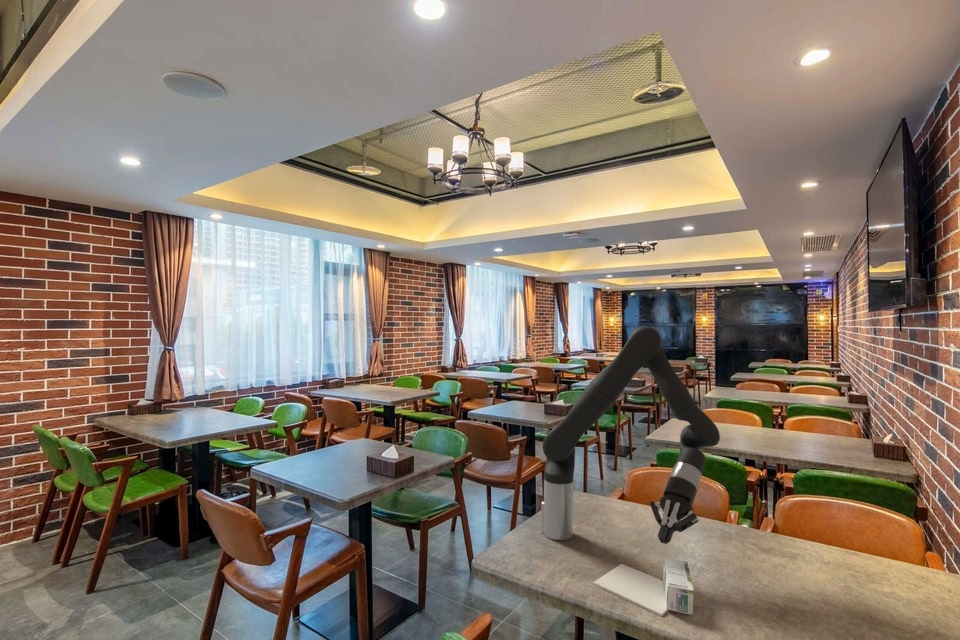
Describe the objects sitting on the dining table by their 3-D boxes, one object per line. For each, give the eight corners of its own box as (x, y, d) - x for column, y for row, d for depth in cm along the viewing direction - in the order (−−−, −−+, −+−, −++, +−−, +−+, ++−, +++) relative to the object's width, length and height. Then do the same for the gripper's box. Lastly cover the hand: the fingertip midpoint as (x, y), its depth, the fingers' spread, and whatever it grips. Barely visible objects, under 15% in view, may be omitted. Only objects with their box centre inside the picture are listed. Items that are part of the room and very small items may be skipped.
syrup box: (686, 583, 118) (694, 616, 104) (661, 578, 120) (666, 610, 106) (687, 560, 118) (695, 590, 104) (662, 556, 120) (667, 585, 106)
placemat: (593, 584, 118) (593, 582, 118) (621, 566, 127) (621, 563, 127) (661, 616, 104) (661, 614, 104) (687, 593, 114) (687, 591, 114)
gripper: (655, 470, 130) (633, 526, 121) (704, 481, 120) (684, 543, 112) (664, 485, 133) (643, 540, 125) (712, 497, 124) (693, 558, 115)
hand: (662, 541), depth 118 cm, fingers closed
